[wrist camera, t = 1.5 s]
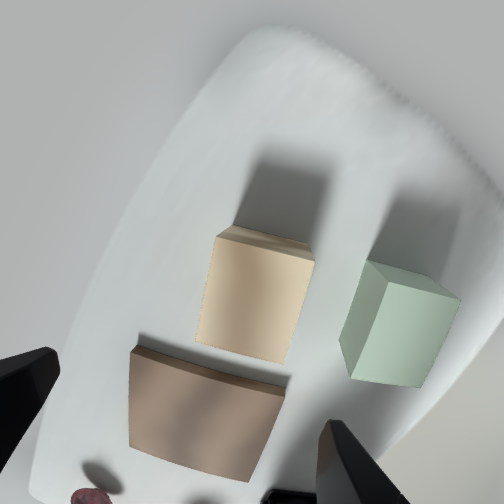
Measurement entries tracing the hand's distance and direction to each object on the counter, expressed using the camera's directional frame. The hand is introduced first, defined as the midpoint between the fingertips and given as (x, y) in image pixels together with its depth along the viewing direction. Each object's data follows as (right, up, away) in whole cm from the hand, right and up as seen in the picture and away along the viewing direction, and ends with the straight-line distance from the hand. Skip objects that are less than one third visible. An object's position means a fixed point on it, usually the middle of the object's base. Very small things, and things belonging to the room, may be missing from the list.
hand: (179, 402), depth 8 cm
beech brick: (+3, +3, +12) cm, 13 cm away
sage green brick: (+11, +1, +12) cm, 16 cm away
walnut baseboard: (-2, -10, +15) cm, 19 cm away
